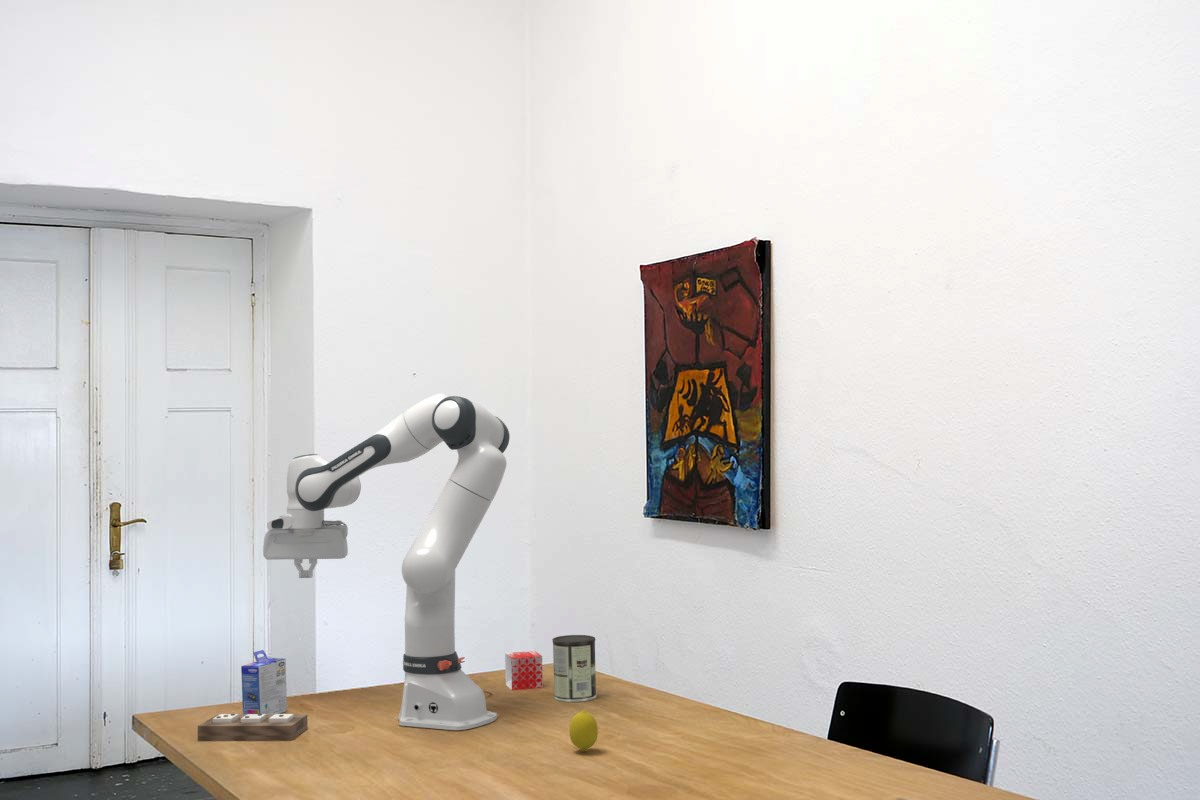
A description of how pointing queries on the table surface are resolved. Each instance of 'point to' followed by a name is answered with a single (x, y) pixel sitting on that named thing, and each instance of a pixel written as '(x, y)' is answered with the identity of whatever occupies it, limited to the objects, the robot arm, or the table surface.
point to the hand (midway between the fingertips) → (305, 577)
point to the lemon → (583, 730)
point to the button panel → (252, 730)
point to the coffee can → (574, 668)
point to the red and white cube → (523, 670)
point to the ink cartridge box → (264, 686)
